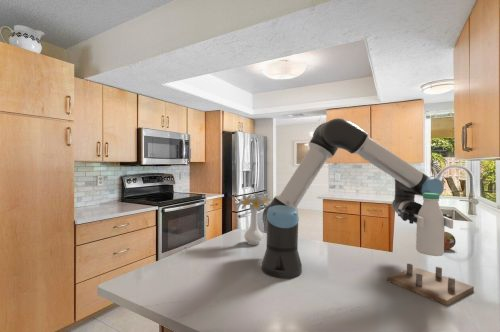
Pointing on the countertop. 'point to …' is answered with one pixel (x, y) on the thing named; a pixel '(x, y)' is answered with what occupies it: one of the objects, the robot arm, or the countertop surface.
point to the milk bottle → (430, 227)
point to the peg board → (431, 284)
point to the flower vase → (253, 216)
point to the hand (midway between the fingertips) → (436, 223)
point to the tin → (448, 240)
